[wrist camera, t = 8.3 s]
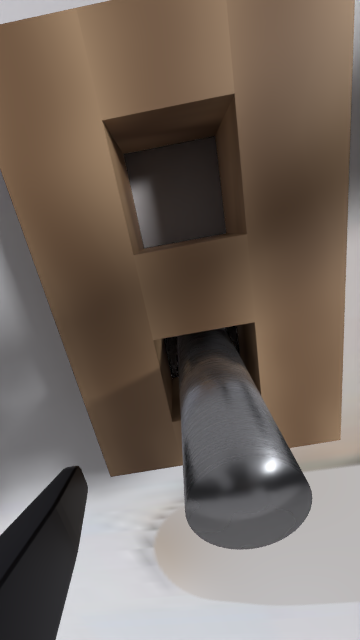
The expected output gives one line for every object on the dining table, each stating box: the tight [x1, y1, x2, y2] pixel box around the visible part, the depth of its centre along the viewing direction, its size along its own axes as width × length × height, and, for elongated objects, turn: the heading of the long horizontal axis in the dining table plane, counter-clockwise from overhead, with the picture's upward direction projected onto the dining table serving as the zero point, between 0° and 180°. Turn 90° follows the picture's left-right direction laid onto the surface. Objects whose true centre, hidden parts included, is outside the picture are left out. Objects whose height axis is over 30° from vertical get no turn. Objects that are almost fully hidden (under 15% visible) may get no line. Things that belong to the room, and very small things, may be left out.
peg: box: [177, 328, 312, 549], centre depth 11 cm, size 3×3×10 cm
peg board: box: [0, 0, 355, 477], centre depth 12 cm, size 12×18×4 cm, turn 10°
